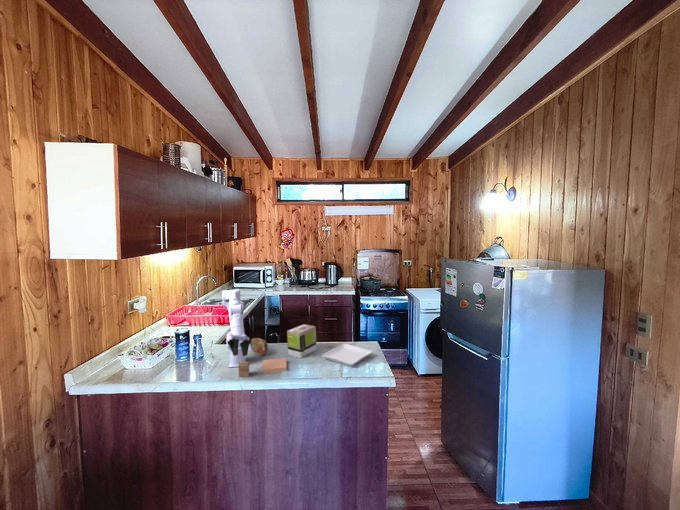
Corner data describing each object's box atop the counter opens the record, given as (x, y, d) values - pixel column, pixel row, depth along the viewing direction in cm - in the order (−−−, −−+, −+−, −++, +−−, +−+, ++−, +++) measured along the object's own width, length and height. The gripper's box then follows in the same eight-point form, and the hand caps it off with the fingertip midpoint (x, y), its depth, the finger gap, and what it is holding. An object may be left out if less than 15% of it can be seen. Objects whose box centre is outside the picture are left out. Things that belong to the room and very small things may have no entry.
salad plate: (352, 370, 167) (352, 363, 167) (320, 360, 180) (320, 354, 180) (373, 356, 184) (373, 350, 184) (343, 348, 197) (343, 343, 196)
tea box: (304, 347, 200) (303, 323, 199) (317, 350, 194) (316, 326, 193) (287, 355, 187) (286, 330, 186) (300, 358, 182) (299, 333, 181)
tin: (250, 350, 196) (249, 336, 195) (254, 349, 198) (254, 335, 197) (264, 356, 185) (264, 342, 185) (269, 355, 188) (268, 341, 187)
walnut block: (240, 373, 164) (239, 362, 164) (249, 372, 165) (248, 361, 164) (239, 377, 160) (238, 366, 159) (248, 376, 161) (248, 365, 160)
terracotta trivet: (263, 364, 176) (263, 360, 176) (285, 362, 178) (285, 358, 178) (262, 374, 164) (262, 369, 164) (286, 371, 166) (286, 367, 166)
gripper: (235, 324, 156) (238, 352, 151) (253, 327, 169) (256, 353, 164) (223, 328, 158) (225, 356, 152) (241, 331, 171) (244, 357, 165)
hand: (240, 355), depth 158 cm, fingers open, 7 cm apart
